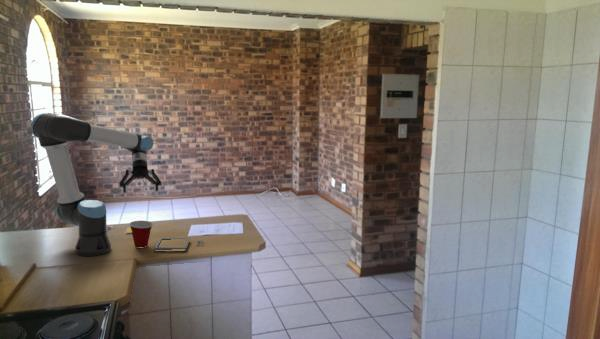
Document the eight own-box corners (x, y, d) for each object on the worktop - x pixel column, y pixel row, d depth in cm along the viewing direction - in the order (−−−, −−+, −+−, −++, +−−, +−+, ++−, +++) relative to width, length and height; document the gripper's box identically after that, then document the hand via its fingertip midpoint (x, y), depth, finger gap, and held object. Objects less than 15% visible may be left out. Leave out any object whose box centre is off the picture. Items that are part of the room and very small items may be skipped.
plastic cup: (148, 251, 201) (148, 226, 199) (126, 249, 201) (125, 225, 200) (156, 243, 212) (156, 220, 210) (135, 242, 212) (134, 219, 210)
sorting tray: (154, 251, 201) (154, 247, 200) (160, 241, 215) (160, 237, 215) (185, 251, 202) (185, 247, 202) (189, 241, 217) (189, 238, 216)
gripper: (163, 166, 232) (166, 199, 221) (114, 167, 223) (114, 202, 211) (164, 158, 226) (167, 191, 215) (113, 159, 217) (114, 194, 206)
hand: (141, 197), depth 213 cm, fingers open, 13 cm apart
